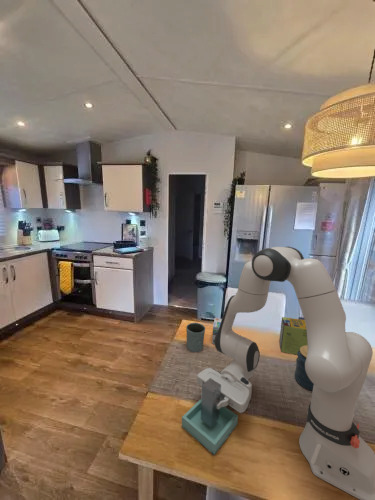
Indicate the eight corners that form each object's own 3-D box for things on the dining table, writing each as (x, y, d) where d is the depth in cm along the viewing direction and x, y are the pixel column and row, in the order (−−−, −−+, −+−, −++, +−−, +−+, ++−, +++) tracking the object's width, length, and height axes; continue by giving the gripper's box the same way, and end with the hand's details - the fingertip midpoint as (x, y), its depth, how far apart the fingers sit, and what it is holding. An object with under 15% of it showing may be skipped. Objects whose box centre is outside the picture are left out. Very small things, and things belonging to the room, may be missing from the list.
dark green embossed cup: (187, 341, 133) (187, 321, 130) (205, 343, 131) (205, 323, 129) (184, 352, 123) (185, 331, 120) (203, 354, 121) (204, 333, 119)
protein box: (312, 357, 121) (316, 330, 118) (280, 352, 125) (283, 325, 122) (308, 346, 131) (311, 320, 128) (278, 341, 135) (281, 316, 132)
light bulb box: (224, 346, 129) (225, 328, 127) (211, 344, 130) (212, 326, 128) (224, 335, 139) (226, 318, 137) (213, 334, 140) (214, 317, 138)
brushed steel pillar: (218, 418, 83) (221, 384, 80) (211, 427, 79) (213, 392, 76) (208, 411, 86) (210, 377, 83) (200, 419, 82) (202, 385, 79)
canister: (293, 385, 102) (298, 349, 99) (295, 367, 113) (299, 334, 110) (327, 397, 96) (334, 359, 93) (326, 377, 107) (331, 342, 104)
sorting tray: (237, 424, 83) (238, 415, 83) (214, 455, 73) (214, 444, 72) (206, 402, 92) (206, 393, 92) (181, 426, 82) (181, 416, 81)
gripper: (209, 359, 96) (187, 377, 86) (256, 386, 83) (235, 411, 73) (208, 373, 98) (186, 392, 88) (254, 401, 84) (234, 428, 74)
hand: (209, 401), depth 80 cm, fingers closed on brushed steel pillar, 5 cm apart
